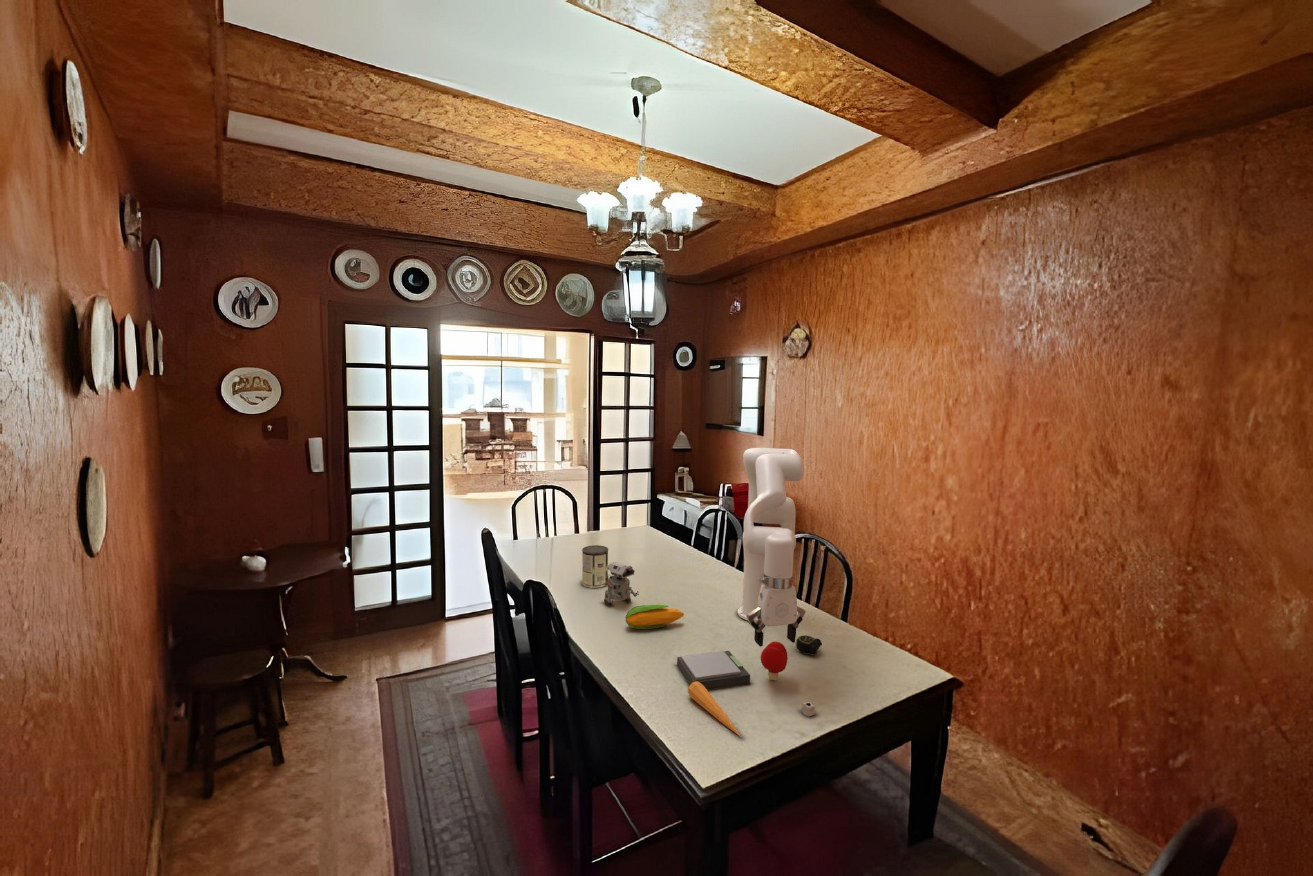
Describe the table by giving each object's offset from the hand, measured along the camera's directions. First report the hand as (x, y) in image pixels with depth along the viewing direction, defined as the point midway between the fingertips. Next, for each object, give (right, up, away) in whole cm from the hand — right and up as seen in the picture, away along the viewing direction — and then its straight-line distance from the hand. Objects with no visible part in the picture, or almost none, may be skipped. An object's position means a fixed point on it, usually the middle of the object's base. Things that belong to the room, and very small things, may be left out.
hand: (775, 642), depth 151 cm
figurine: (-45, -5, +50) cm, 68 cm away
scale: (-17, -10, +4) cm, 20 cm away
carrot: (-18, -12, -15) cm, 27 cm away
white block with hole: (+5, -13, -13) cm, 19 cm away
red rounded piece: (0, -11, +1) cm, 11 cm away
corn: (-33, -7, +33) cm, 47 cm away
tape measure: (+14, -10, +18) cm, 25 cm away
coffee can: (-57, -3, +71) cm, 91 cm away
